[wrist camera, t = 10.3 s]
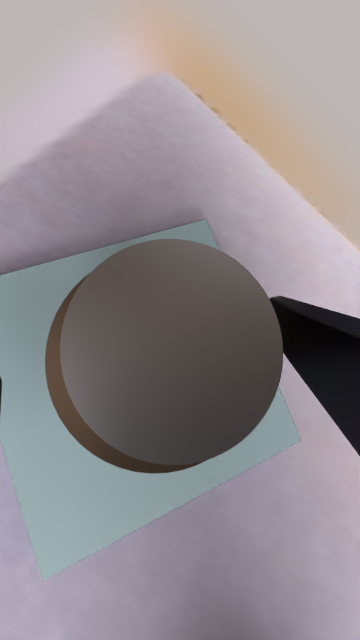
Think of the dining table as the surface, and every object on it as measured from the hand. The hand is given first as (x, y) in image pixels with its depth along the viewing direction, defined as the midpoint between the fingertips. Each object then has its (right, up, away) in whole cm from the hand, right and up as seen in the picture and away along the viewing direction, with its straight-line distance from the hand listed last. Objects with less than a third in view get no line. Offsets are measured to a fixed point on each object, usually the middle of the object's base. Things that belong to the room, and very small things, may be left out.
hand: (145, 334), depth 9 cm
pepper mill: (-1, -2, +8) cm, 8 cm away
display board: (-2, -3, +9) cm, 9 cm away
